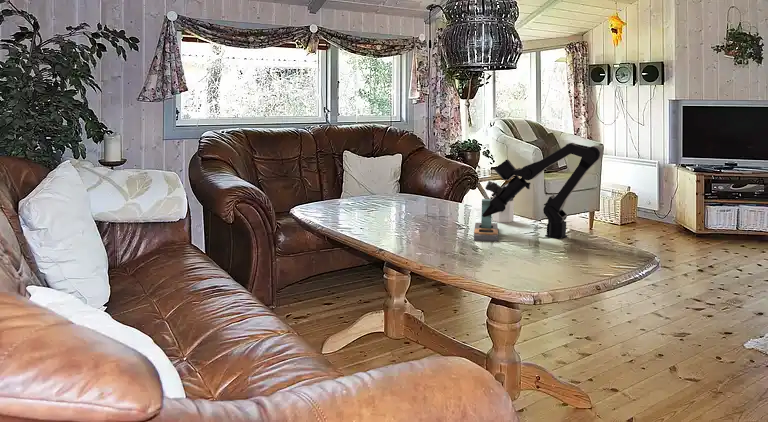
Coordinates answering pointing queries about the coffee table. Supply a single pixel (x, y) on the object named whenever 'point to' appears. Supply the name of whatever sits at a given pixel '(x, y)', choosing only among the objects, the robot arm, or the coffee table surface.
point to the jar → (505, 213)
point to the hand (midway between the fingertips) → (483, 215)
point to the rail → (486, 233)
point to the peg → (486, 220)
